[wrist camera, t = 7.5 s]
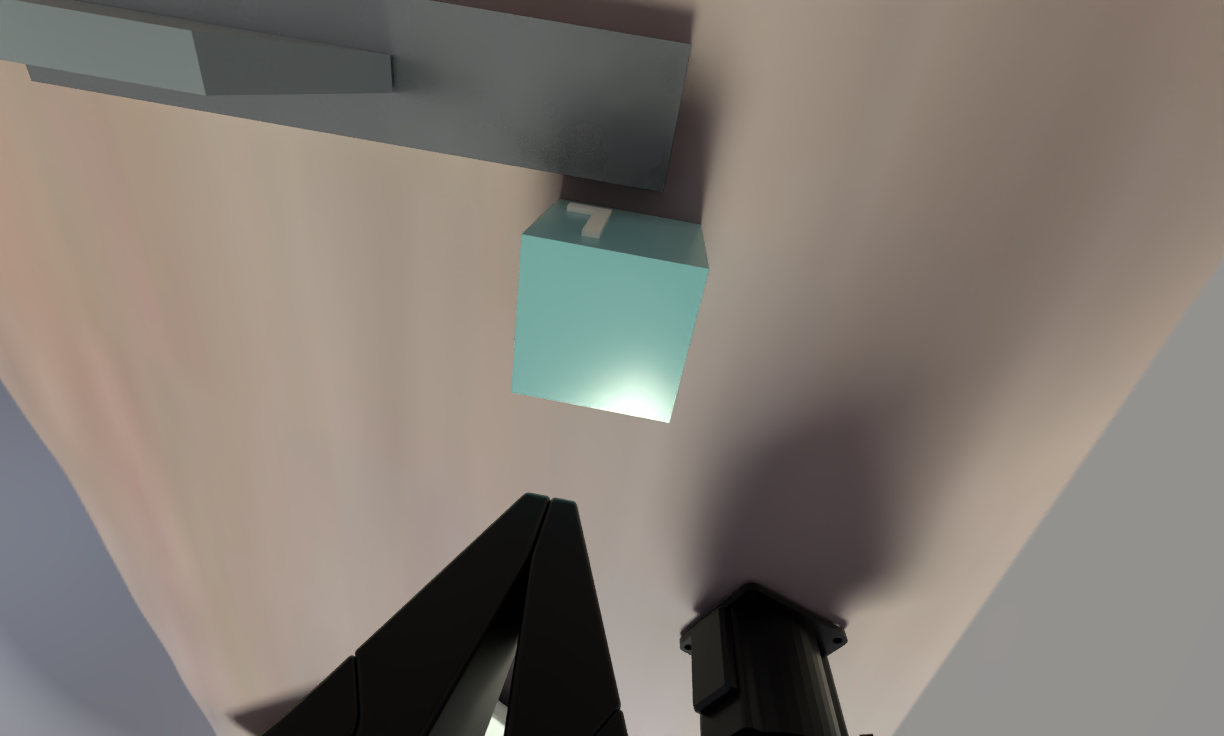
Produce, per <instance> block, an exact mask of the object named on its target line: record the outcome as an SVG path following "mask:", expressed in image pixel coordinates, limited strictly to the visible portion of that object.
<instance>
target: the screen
mask: <svg viewBox="0 0 1224 736" xmlns="http://www.w3.org/2000/svg"><path fill="white" fill-rule="evenodd" d="M0 60H6V61H11V62H17V63H23V64H28V65H34V66H40V67H46V68H51V69H57V70H63V71H68V72H74V73H80V74H86V75H91V76H97V77H103V78H108V79H114V80H120V81H125V82H131V83H137V84H143V85H148V86H154V87H160V88H165V89H171V90H177V91H182V92H188V93H194V94H200V95H205V96H214V95H285V94H356V93H393V92H392V75H391V59H390V55H389V54H383V53H378V52H372V51H366V50H360V49H354V48H349V47H343V46H337V45H331V44H325V43H319V42H314V41H308V40H302V39H296V38H290V37H285V36H279V35H273V34H267V33H261V32H256V31H250V30H244V29H238V28H232V27H227V26H221V25H215V24H209V23H203V22H197V21H192V20H186V19H180V18H174V17H168V16H163V15H157V14H151V13H145V12H139V11H134V10H128V9H122V8H116V7H110V6H104V5H99V4H93V3H87V2H81V1H75V0H0Z"/></svg>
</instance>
